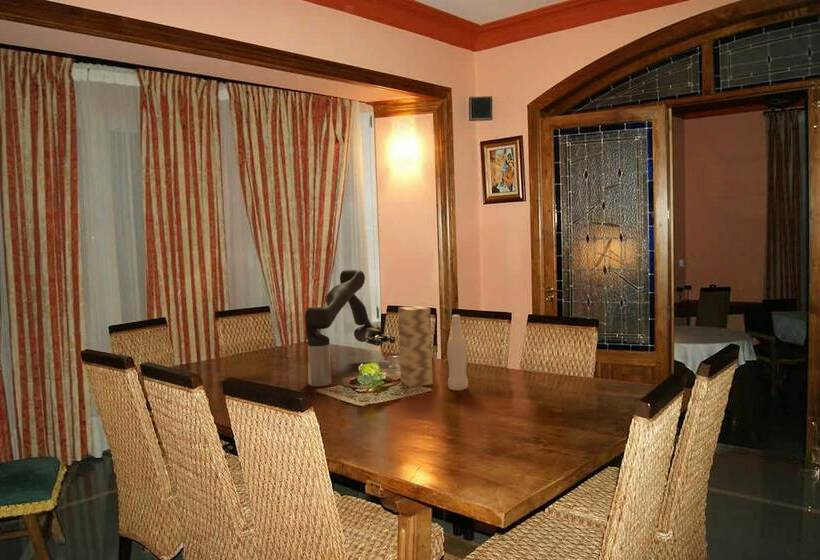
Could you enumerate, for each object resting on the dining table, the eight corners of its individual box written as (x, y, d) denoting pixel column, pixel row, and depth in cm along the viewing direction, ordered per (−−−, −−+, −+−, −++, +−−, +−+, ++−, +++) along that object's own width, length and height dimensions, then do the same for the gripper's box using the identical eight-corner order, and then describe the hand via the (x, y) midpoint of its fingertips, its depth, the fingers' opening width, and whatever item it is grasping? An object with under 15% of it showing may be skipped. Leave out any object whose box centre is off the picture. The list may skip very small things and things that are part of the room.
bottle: (461, 391, 256) (459, 316, 254) (444, 389, 261) (442, 315, 259) (471, 387, 262) (469, 314, 260) (455, 385, 267) (453, 313, 265)
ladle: (391, 369, 285) (390, 357, 285) (375, 368, 304) (374, 356, 304) (403, 368, 287) (402, 355, 287) (387, 366, 306) (386, 355, 307)
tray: (387, 381, 278) (387, 375, 278) (376, 375, 291) (376, 369, 290) (417, 377, 283) (417, 372, 283) (405, 371, 296) (405, 366, 296)
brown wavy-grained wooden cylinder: (410, 386, 267) (407, 310, 264) (400, 381, 277) (398, 307, 275) (432, 384, 270) (430, 308, 268) (422, 378, 281) (419, 305, 278)
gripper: (360, 330, 309) (371, 335, 293) (388, 327, 314) (401, 332, 299) (361, 345, 310) (372, 351, 294) (389, 343, 315) (401, 348, 299)
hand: (386, 341), depth 296 cm, fingers open, 5 cm apart
